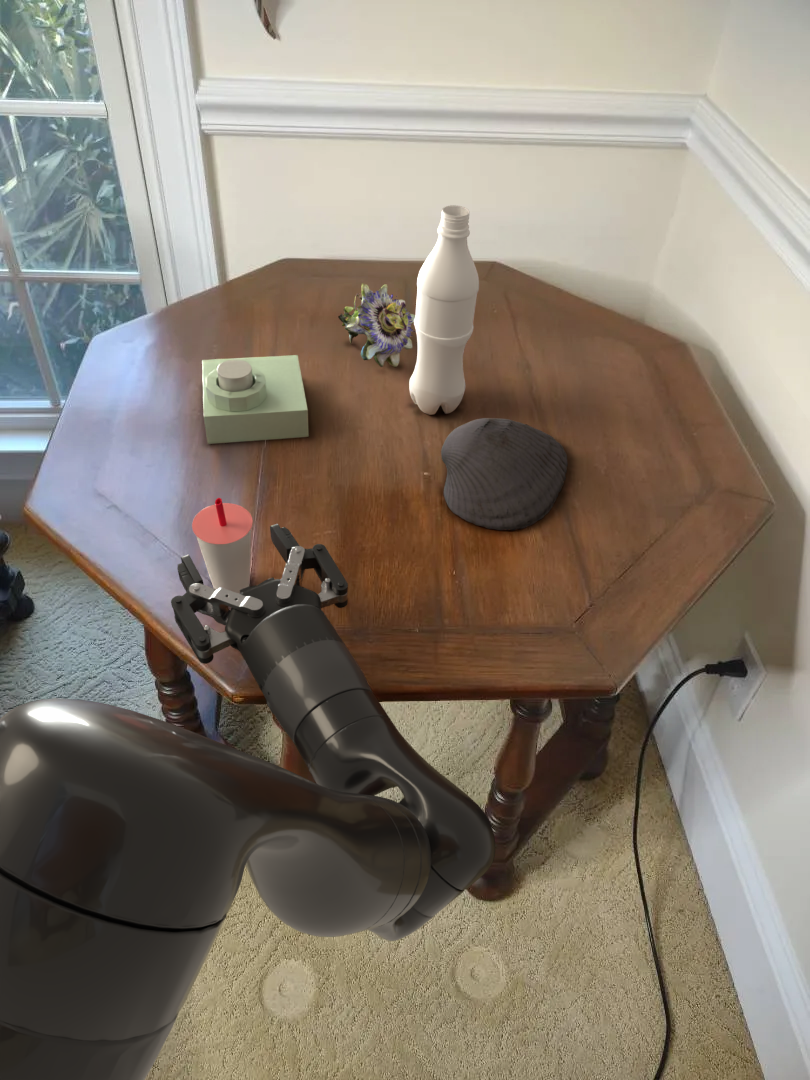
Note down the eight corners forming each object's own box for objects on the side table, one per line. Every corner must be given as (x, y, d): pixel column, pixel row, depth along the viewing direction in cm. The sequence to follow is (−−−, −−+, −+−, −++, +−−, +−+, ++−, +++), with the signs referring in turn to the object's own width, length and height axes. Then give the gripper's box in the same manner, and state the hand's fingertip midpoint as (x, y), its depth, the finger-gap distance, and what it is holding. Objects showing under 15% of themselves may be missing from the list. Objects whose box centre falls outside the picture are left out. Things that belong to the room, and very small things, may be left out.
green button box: (207, 444, 91) (201, 402, 87) (206, 386, 99) (200, 345, 95) (308, 436, 93) (307, 395, 89) (298, 381, 102) (297, 341, 97)
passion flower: (390, 396, 110) (380, 364, 98) (328, 360, 112) (310, 324, 100) (432, 331, 111) (426, 292, 99) (369, 297, 112) (356, 254, 101)
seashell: (410, 508, 89) (408, 458, 83) (491, 416, 99) (496, 365, 93) (518, 560, 84) (525, 511, 78) (593, 457, 94) (604, 407, 88)
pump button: (219, 394, 89) (217, 379, 88) (218, 375, 92) (216, 360, 90) (254, 392, 90) (252, 377, 88) (252, 373, 92) (250, 358, 91)
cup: (227, 617, 73) (213, 528, 65) (192, 587, 76) (174, 497, 67) (270, 587, 76) (262, 498, 68) (235, 559, 79) (223, 469, 70)
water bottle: (470, 397, 101) (498, 206, 84) (450, 426, 97) (474, 230, 79) (421, 382, 103) (438, 192, 85) (398, 409, 98) (411, 214, 81)
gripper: (388, 613, 61) (299, 491, 70) (218, 686, 55) (146, 543, 65) (384, 668, 66) (302, 548, 76) (228, 739, 61) (160, 600, 70)
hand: (230, 546), depth 70 cm, fingers open, 8 cm apart
